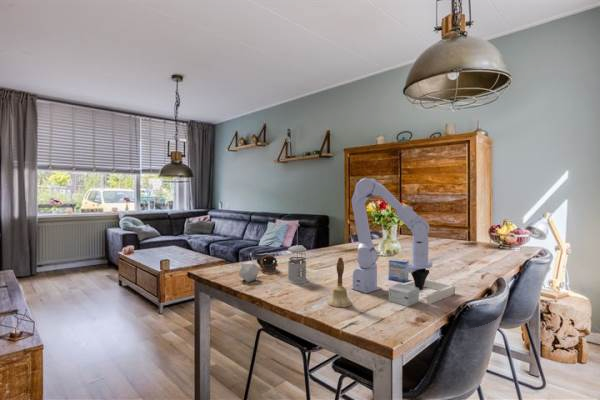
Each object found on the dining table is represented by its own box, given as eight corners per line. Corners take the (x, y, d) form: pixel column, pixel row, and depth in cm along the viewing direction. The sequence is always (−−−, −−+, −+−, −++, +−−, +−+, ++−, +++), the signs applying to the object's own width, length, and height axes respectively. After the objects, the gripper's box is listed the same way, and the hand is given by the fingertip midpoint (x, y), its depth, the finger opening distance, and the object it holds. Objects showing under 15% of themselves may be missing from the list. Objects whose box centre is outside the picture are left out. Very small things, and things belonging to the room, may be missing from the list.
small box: (387, 301, 117) (388, 287, 116) (399, 296, 122) (400, 282, 122) (407, 307, 111) (408, 292, 111) (419, 301, 116) (419, 287, 116)
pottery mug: (281, 269, 164) (281, 257, 159) (271, 282, 157) (271, 269, 152) (261, 261, 168) (260, 249, 164) (250, 273, 161) (249, 260, 157)
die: (261, 283, 141) (263, 262, 146) (247, 276, 135) (250, 255, 141) (247, 287, 145) (250, 266, 150) (233, 281, 139) (236, 260, 145)
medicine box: (388, 279, 144) (388, 260, 144) (390, 277, 148) (390, 258, 148) (406, 282, 140) (407, 262, 140) (408, 279, 144) (408, 260, 144)
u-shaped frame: (429, 303, 113) (430, 295, 113) (395, 293, 124) (395, 286, 124) (454, 293, 125) (455, 285, 125) (421, 285, 136) (421, 278, 136)
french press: (281, 281, 140) (281, 223, 139) (294, 275, 151) (294, 221, 150) (302, 284, 136) (302, 224, 135) (313, 278, 146) (313, 222, 146)
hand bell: (331, 298, 119) (332, 254, 119) (354, 301, 116) (354, 256, 116) (324, 305, 112) (324, 259, 111) (348, 309, 109) (348, 261, 108)
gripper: (419, 256, 114) (418, 295, 114) (440, 252, 123) (439, 287, 123) (401, 253, 119) (400, 290, 120) (423, 249, 128) (422, 283, 129)
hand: (419, 288), depth 122 cm, fingers closed
